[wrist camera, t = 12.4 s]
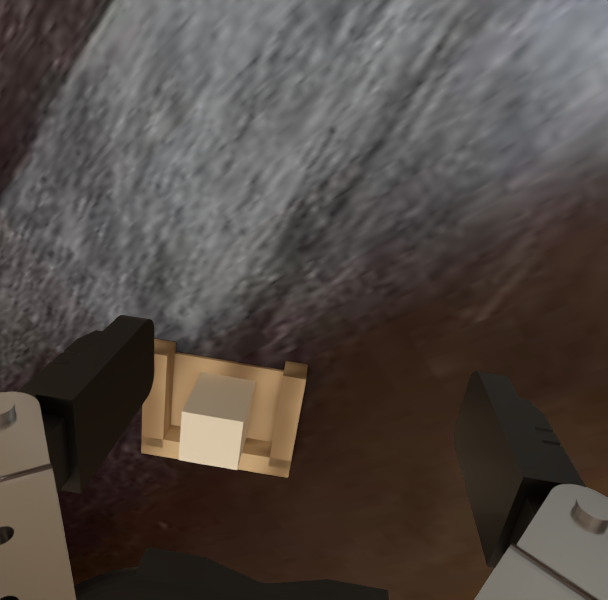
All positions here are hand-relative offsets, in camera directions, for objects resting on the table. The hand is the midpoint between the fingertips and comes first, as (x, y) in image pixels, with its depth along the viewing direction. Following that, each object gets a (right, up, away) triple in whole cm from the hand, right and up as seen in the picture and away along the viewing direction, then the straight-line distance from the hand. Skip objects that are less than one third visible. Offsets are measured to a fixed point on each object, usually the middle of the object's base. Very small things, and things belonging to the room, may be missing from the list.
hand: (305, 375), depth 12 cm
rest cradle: (-7, -8, +33) cm, 35 cm away
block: (-7, -7, +33) cm, 34 cm away
